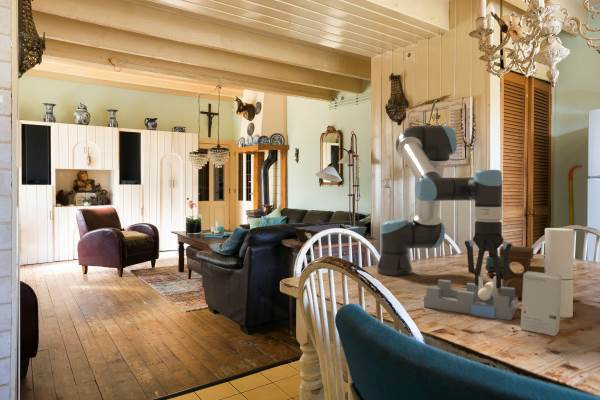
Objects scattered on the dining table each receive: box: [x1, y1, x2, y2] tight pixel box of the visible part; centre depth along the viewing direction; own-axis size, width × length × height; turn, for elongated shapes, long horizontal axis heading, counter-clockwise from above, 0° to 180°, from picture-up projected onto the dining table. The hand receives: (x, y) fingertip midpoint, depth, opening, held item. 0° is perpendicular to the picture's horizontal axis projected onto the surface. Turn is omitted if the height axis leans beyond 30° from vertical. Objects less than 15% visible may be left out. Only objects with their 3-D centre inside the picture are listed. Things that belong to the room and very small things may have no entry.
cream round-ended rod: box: [478, 281, 493, 300], centre depth 126 cm, size 4×14×4 cm, turn 146°
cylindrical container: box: [544, 227, 575, 318], centre depth 122 cm, size 7×7×25 cm
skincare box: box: [520, 271, 562, 337], centre depth 108 cm, size 8×6×15 cm
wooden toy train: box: [499, 245, 545, 299], centre depth 141 cm, size 20×11×17 cm, turn 58°
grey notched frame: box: [423, 279, 519, 321], centre depth 129 cm, size 25×15×6 cm, turn 56°
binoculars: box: [484, 251, 504, 280], centre depth 172 cm, size 9×11×10 cm
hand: (488, 297), depth 127 cm, fingers closed on cream round-ended rod, 3 cm apart
